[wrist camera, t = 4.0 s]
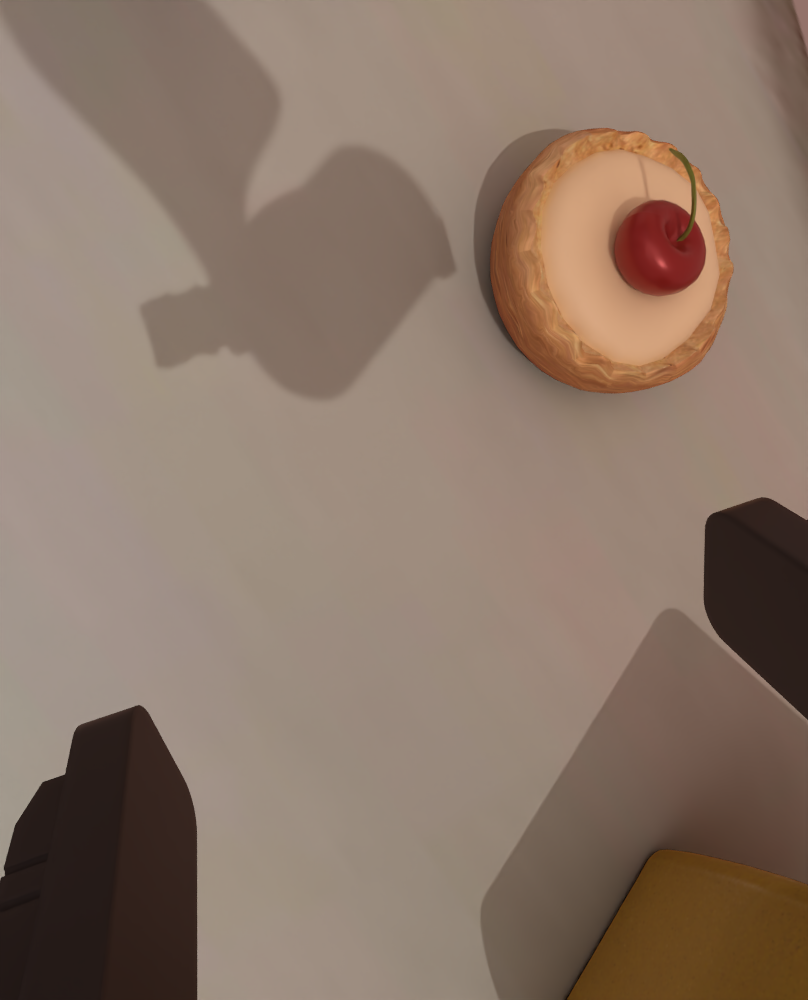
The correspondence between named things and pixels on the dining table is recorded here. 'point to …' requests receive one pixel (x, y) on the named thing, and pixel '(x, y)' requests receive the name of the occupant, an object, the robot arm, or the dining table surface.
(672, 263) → the pastry
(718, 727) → the dining table surface
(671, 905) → the flower pot
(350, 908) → the dining table surface
